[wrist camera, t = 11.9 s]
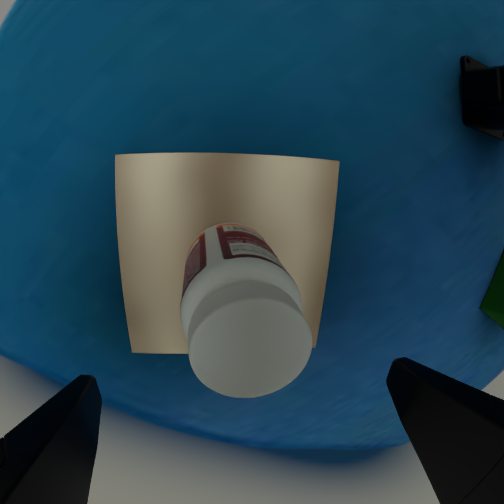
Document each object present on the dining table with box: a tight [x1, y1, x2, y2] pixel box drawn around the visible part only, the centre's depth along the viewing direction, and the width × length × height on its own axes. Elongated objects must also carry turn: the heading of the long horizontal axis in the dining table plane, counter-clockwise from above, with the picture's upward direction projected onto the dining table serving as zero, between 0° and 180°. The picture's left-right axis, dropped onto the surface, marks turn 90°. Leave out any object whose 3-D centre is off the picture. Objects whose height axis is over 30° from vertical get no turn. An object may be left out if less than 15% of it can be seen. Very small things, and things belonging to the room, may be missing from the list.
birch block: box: [115, 152, 339, 354], centre depth 19 cm, size 12×12×3 cm
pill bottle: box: [180, 222, 312, 398], centre depth 13 cm, size 5×5×8 cm
